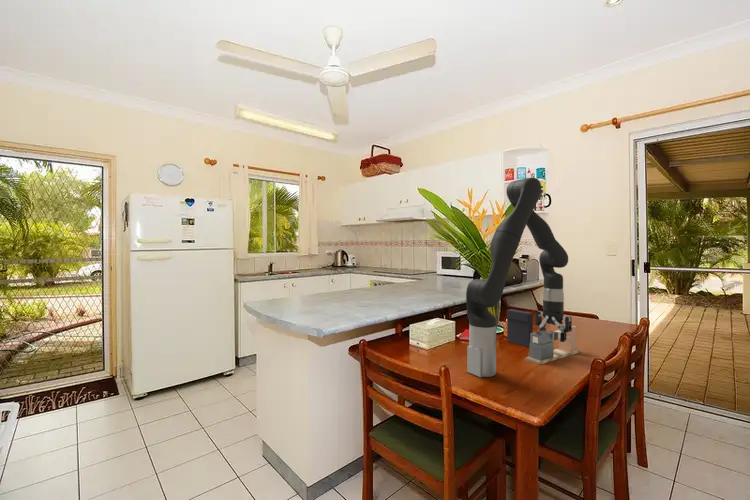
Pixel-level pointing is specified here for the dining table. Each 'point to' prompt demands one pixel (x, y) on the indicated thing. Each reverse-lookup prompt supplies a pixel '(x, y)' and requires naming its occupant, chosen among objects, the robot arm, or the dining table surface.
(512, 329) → the dark gray lidded box
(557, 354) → the base board
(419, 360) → the dining table surface
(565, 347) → the socket
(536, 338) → the slip tube
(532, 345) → the sleeve
